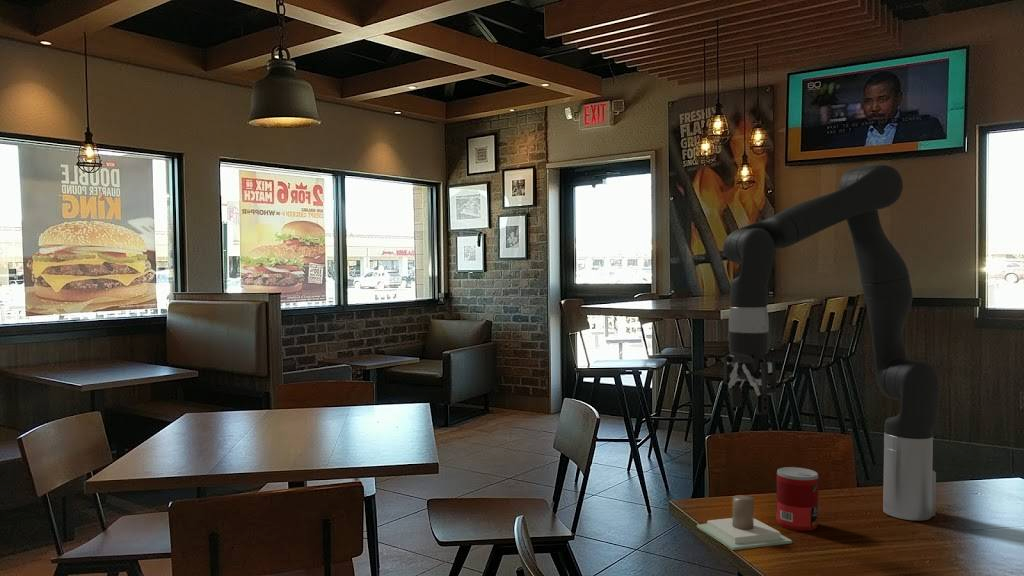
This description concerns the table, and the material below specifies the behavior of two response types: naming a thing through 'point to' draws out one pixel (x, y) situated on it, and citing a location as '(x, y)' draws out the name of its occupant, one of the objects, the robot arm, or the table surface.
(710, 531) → the mat
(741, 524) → the lid
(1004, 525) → the table surface
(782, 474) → the canned food
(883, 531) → the table surface
